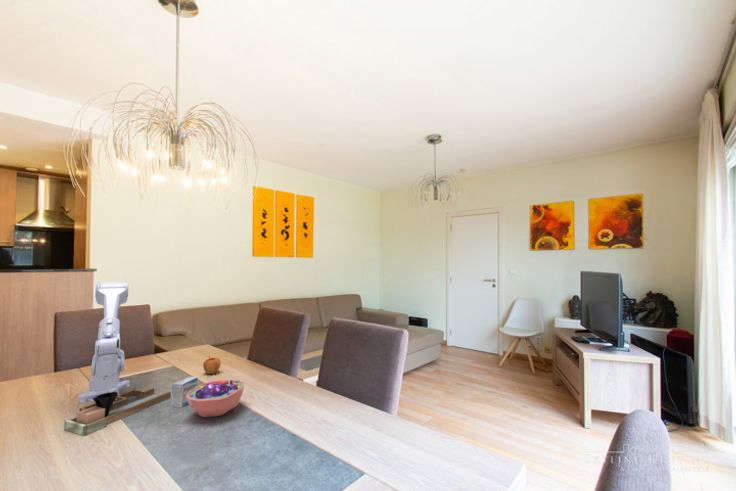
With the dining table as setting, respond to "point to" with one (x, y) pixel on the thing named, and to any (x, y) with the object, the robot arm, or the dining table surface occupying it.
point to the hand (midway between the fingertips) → (103, 416)
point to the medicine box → (182, 391)
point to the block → (90, 415)
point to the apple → (211, 365)
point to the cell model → (215, 397)
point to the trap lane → (118, 410)
